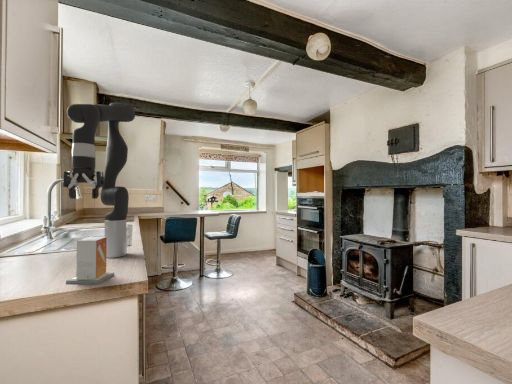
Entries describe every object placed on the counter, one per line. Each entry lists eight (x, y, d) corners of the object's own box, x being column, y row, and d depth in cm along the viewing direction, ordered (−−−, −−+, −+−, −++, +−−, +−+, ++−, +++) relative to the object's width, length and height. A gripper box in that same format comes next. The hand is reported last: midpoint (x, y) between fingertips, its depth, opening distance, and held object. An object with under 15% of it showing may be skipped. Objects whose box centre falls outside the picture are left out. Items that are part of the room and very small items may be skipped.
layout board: (84, 274, 94) (84, 271, 94) (114, 275, 94) (114, 272, 94) (66, 283, 85) (66, 279, 85) (98, 283, 85) (98, 280, 85)
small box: (96, 279, 86) (96, 240, 86) (75, 280, 85) (75, 240, 85) (106, 271, 94) (107, 236, 94) (88, 272, 93) (88, 236, 93)
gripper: (108, 157, 102) (108, 198, 102) (72, 157, 102) (72, 198, 102) (95, 154, 95) (95, 198, 95) (57, 155, 95) (57, 198, 95)
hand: (83, 198), depth 99 cm, fingers open, 8 cm apart
